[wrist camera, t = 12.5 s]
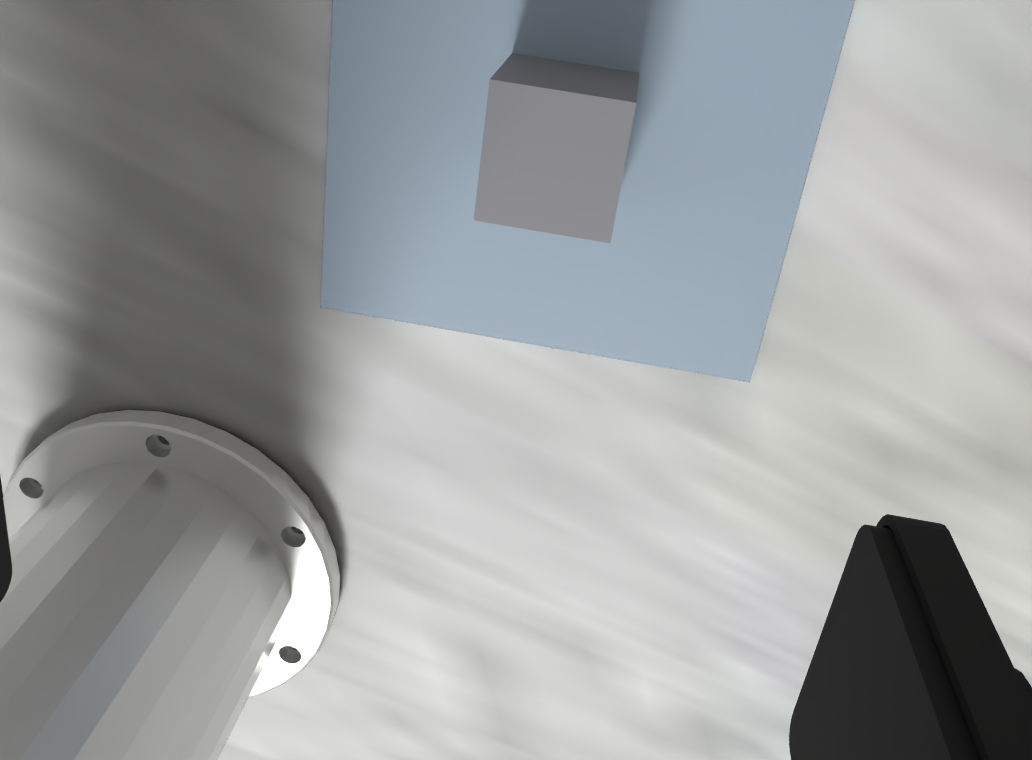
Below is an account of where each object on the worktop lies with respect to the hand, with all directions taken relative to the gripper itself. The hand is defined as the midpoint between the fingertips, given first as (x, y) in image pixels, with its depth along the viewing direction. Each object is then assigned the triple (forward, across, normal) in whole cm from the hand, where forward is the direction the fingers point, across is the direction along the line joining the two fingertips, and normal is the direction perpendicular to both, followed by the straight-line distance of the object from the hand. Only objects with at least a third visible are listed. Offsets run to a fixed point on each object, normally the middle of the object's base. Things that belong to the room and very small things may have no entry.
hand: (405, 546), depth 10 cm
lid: (+20, 0, 0) cm, 20 cm away
